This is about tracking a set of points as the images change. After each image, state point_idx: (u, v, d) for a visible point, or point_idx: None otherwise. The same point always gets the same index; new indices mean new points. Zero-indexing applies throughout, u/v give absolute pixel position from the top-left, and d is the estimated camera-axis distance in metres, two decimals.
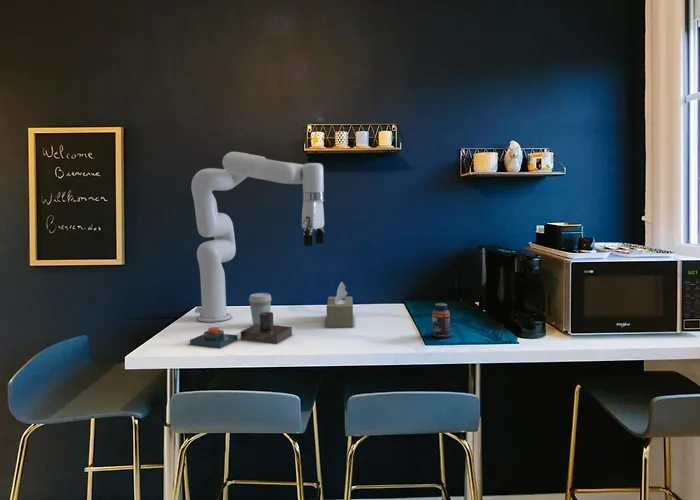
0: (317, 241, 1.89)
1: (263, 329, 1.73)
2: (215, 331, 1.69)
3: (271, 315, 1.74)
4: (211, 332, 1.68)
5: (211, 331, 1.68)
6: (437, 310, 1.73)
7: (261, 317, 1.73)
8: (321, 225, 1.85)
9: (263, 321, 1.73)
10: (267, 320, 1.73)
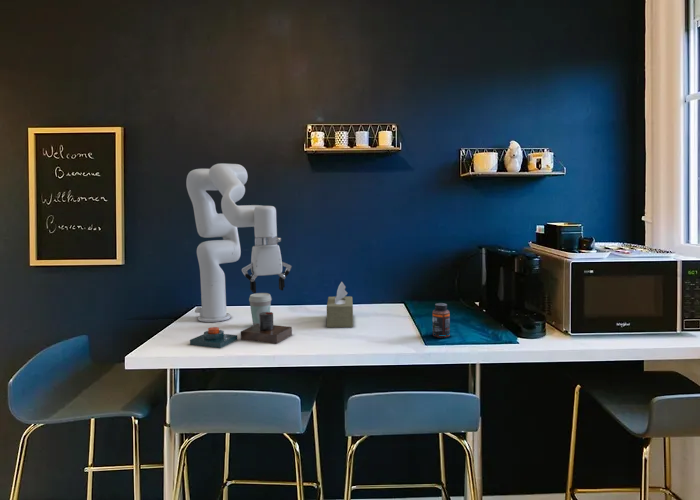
0: (279, 287, 1.77)
1: (263, 329, 1.73)
2: (215, 331, 1.69)
3: (271, 315, 1.74)
4: (211, 332, 1.68)
5: (211, 331, 1.68)
6: (437, 310, 1.73)
7: (261, 317, 1.73)
8: (274, 271, 1.72)
9: (263, 321, 1.73)
10: (267, 320, 1.73)
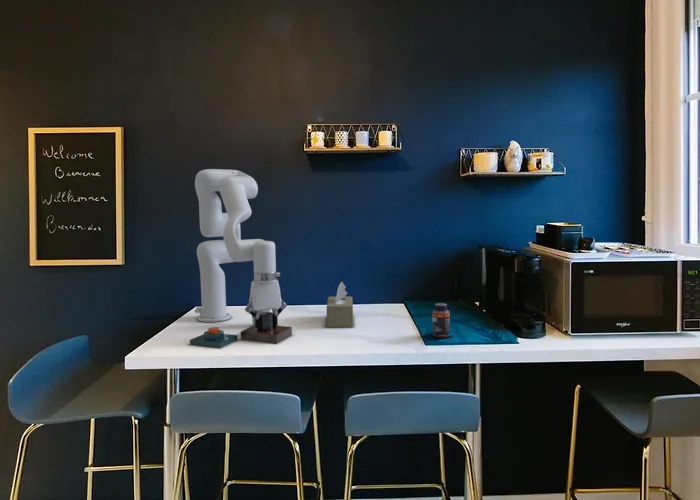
0: None
1: (263, 329, 1.73)
2: (215, 331, 1.69)
3: (271, 315, 1.74)
4: (211, 332, 1.68)
5: (211, 331, 1.68)
6: (437, 310, 1.73)
7: (261, 317, 1.73)
8: (273, 306, 1.73)
9: (263, 321, 1.73)
10: (267, 320, 1.73)
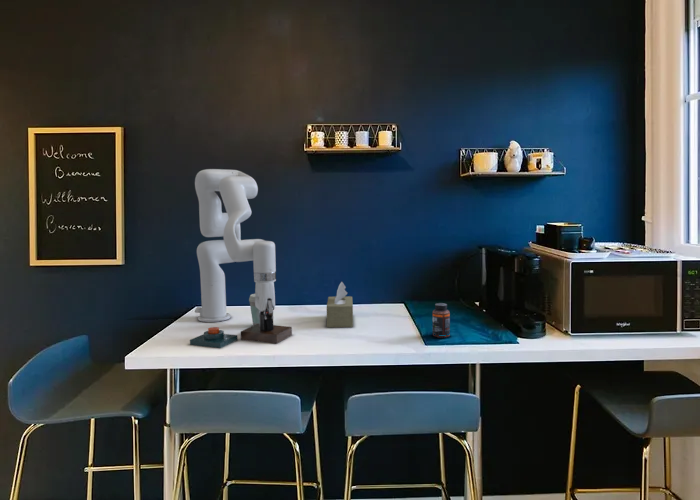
0: None
1: None
2: (215, 331, 1.69)
3: None
4: (211, 332, 1.68)
5: (211, 331, 1.68)
6: (437, 310, 1.73)
7: None
8: None
9: None
10: None
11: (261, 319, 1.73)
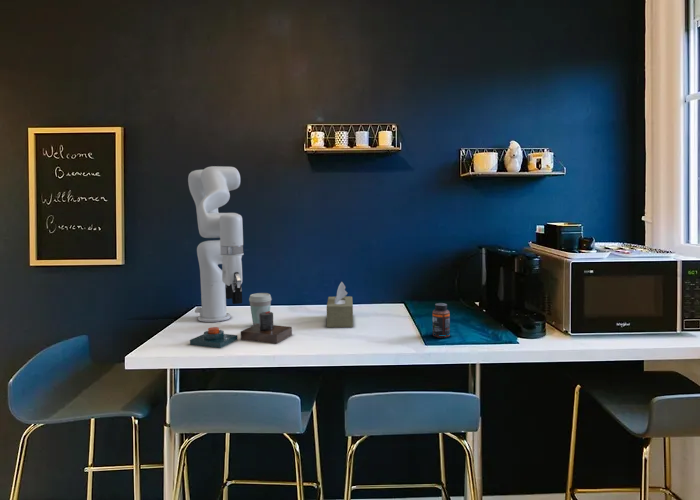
0: (228, 296, 1.75)
1: (272, 328, 1.75)
2: (215, 331, 1.69)
3: None
4: (211, 332, 1.68)
5: (211, 331, 1.68)
6: (437, 310, 1.73)
7: (271, 316, 1.74)
8: None
9: (272, 319, 1.75)
10: None
11: (261, 319, 1.73)
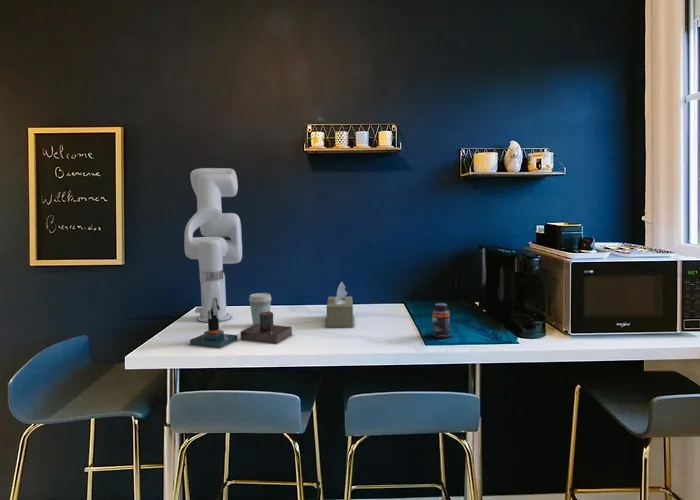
0: None
1: (272, 328, 1.75)
2: (215, 332, 1.69)
3: None
4: (211, 333, 1.68)
5: (211, 332, 1.68)
6: (437, 310, 1.73)
7: (271, 316, 1.74)
8: None
9: (272, 319, 1.75)
10: None
11: (261, 319, 1.73)
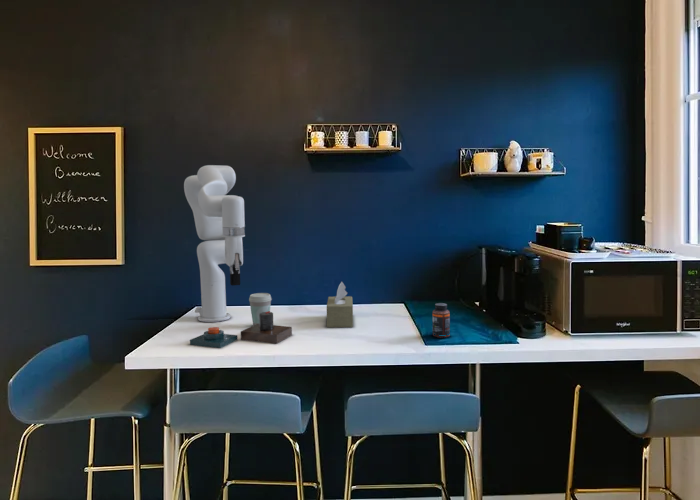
0: None
1: (272, 328, 1.75)
2: (215, 331, 1.69)
3: None
4: (211, 332, 1.68)
5: (211, 331, 1.68)
6: (437, 310, 1.73)
7: (271, 316, 1.74)
8: None
9: (272, 319, 1.75)
10: None
11: (261, 319, 1.73)
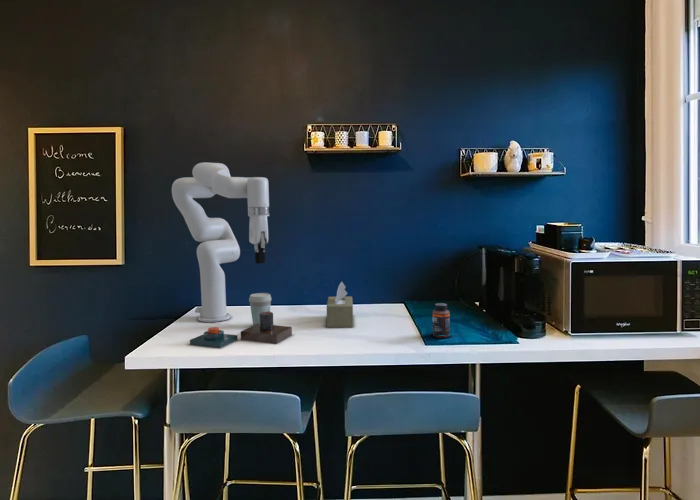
0: None
1: (272, 328, 1.75)
2: (215, 331, 1.69)
3: None
4: (211, 332, 1.68)
5: (211, 331, 1.68)
6: (437, 310, 1.73)
7: (271, 316, 1.74)
8: None
9: (272, 319, 1.75)
10: None
11: (261, 319, 1.73)
